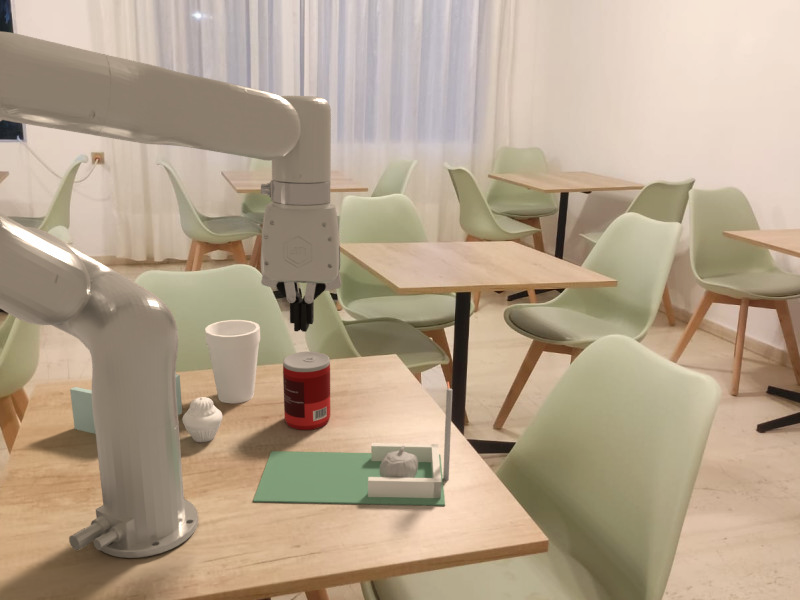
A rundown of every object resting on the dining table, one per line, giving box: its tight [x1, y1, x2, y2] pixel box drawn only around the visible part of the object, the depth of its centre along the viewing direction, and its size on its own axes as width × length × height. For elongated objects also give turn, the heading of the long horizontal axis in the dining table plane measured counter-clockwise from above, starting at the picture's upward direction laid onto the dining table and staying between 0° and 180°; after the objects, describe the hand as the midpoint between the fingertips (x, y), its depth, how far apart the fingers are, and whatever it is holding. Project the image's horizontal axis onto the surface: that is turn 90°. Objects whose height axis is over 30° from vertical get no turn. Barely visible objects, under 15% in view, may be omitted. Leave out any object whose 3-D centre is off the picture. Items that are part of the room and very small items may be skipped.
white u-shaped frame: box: [368, 381, 453, 498], centre depth 104 cm, size 11×11×14 cm
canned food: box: [282, 351, 331, 431], centre depth 122 cm, size 8×8×11 cm
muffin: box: [181, 396, 224, 443], centre depth 116 cm, size 6×6×7 cm
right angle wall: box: [69, 373, 183, 435], centre depth 122 cm, size 12×12×8 cm
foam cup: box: [204, 319, 261, 404], centre depth 131 cm, size 10×9×13 cm
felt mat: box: [252, 450, 446, 507], centre depth 106 cm, size 26×14×1 cm, turn 90°
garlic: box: [379, 445, 418, 478], centre depth 104 cm, size 6×5×5 cm
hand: (301, 328), depth 100 cm, fingers closed
